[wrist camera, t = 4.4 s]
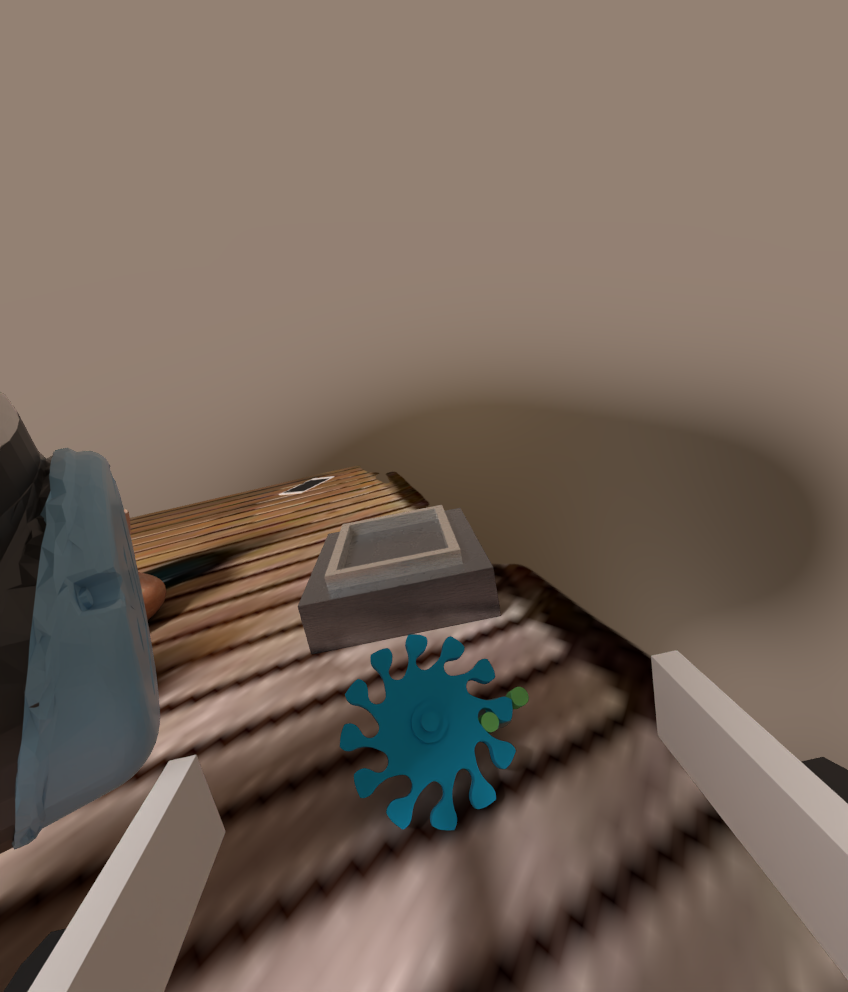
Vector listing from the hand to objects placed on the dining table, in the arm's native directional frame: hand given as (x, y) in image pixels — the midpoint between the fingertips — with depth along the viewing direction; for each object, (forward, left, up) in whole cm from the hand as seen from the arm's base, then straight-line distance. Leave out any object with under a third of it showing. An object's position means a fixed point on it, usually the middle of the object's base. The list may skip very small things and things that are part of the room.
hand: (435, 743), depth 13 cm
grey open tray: (-2, +37, -13) cm, 39 cm away
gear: (0, +11, -13) cm, 17 cm away
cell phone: (-27, +112, -13) cm, 116 cm away
